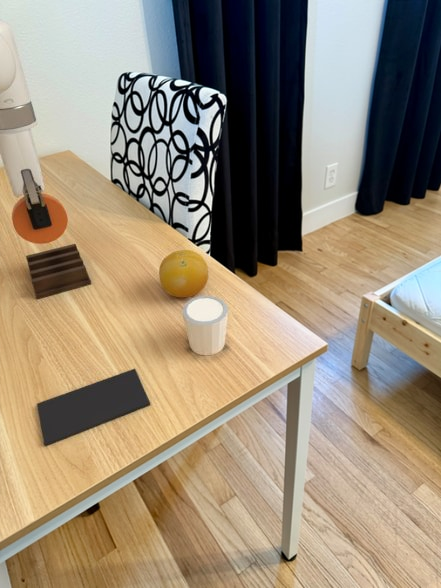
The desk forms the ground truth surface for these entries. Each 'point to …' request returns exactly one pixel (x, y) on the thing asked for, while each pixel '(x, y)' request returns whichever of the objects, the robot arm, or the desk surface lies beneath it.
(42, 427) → the mat
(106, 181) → the desk surface
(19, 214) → the disc
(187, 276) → the fruit
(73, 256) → the rack
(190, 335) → the shot glass
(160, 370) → the desk surface
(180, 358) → the desk surface
